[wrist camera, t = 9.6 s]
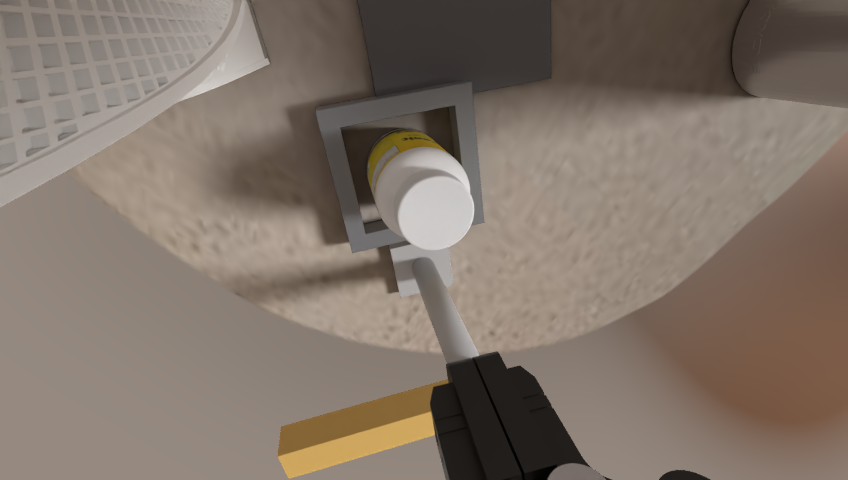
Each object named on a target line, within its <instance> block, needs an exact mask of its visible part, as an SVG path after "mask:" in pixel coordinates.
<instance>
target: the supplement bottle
mask: <svg viewBox="0 0 848 480" xmlns="http://www.w3.org/2000/svg"><path fill="white" fill-rule="evenodd" d="M366 170H367V178H368V181H369V184H370V187H371V191H372V194H373V197H374V200H375V203H376V206H377V209H378V212H379V214H380V216H381V218H382V220H383V222H384V223H385V224H386V225H387V227H388V228H389V229H390V230H392V231H393V232H394V233H396V234H397V235H399V236H401V237H403V238H405V239H406V240H407V241H408V242H409V243H411V244H412V245H414V246H415V247H418V248H420V249H424V250H440V249H444V248H447V247H450V246H452V245H454V244H455V243H457V242H458V241H459V240H460V239H461V238H462V237H463V236H464V235H465V234H466V233H467V231H468V230H469V228H470V226H471V224H472V221H473V217H474V202H473V199H472V196H471V194H470V184H469V180H468V177H467V174H466V172H465V171H464V169H463V167H462V166H461V165H460V164H459V162H458V161H457V160H456V159H455V158H454V157H453V156H452V155H450V154H449V153H448V152H447V151H445V150H444V149H443V148H442V147H441V146H440V145H438V144H437V143H436V142H435V141H434V140H433V139H431V138H430V137H429V136H427V135H426V134H424V133H422V132H420V131H418V130H414V129H397V130H393V131H390V132H388V133H386V134H385V135H383V136H382V137H381V138H380V139H379V140H377V142H376V143H375V144H374V145H373V147H372V149H371V151H370V153H369V155H368V158H367V164H366Z"/></svg>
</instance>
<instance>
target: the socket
mask: <svg viewBox="0 0 848 480" xmlns="http://www.w3.org/2000/svg"><path fill="white" fill-rule="evenodd" d="M443 107H449V115H450V124H451V132H452V140H453V149H454V157H455V159H456V160H457V161H458V162H459V164H460V165H461V166H462V167H463V169H464V171H465V172H466V174H467V177H468V180H469V184H470V194H471V196H472V199H473V202H474V217H473V221H472V224H471V225H476V224H480V223H484V214H483V203H482V192H481V181H480V170H479V159H478V148H477V137H476V127H475V116H474V105H473V94H472V83H471V82H470V81H466V80H463V81H458V82H452V83H447V84H442V85H436V86H431V87H426V88H420V89H415V90H410V91H404V92H399V93H394V94H388V95H383V96H378V97H376V96H373V97H368V98H362V99H357V100H352V101H346V102H341V103H336V104H330V105H325V106H320V107H316V109H315V113H316V116H317V120H318V124H319V128H320V132H321V135H322V139H323V143H324V147H325V151H326V155H327V158H328V162H329V166H330V170H331V174H332V177H333V181H334V185H335V189H336V193H337V196H338V200H339V204H340V208H341V212H342V216H343V219H344V223H345V227H346V231H347V235H348V238H349V242H350V246H351V250H352V253H355V252H359V251H364V250H368V249H372V248H377V247H381V246H385V245H389V248H390V253H391V258H392V262H393V267H394V272H395V276H396V281H397V286H398V290H399V294H400V298H401V297H405V296H409V295H413V294H417V293H421V296H422V299H423V301H424V304H425V307H426V309H427V312H428V314H429V317H430V320H431V322H432V325H433V328H434V330H435V333H436V336H437V338H438V341H439V344H440V346H441V349H442V352H443V354H444V357H445V359H446V362H447V363H451V362H455V361H459V360H464V359H468V358H472V357H476V356H479V354H478V352H477V350H476V348H475V346H474V344H473V342H472V339H471V337H470V335H469V333H468V331H467V329H466V327H465V325H464V323H463V321H462V319H461V317H460V315H459V313H458V311H457V309H456V307H455V305H454V303H453V301H452V299H451V297H450V295H449V293H448V291H447V289H446V287H445V286H449V285H453V284H454V283H453V276H452V269H451V261H450V254H449V247H447V248H444V249H440V250H424V249H420V248H418V247H415V246H414V245H412V244H411V243H409V242H408V241H407V240H406V239H405V238H403V237H401V236H399V235H397V234H396V233H394V232H393V231H392V230H390V229H389V228H388V227H387V225H386V224H385V223H384V222H383V220H380V221H376V222H371V223H367V224H363V220H362V216H361V212H360V208H359V204H358V199H357V195H356V191H355V187H354V183H353V179H352V174H351V170H350V166H349V162H348V158H347V154H346V149H345V145H344V141H343V137H342V133H341V128H340V127H345V126H351V125H356V124H361V123H366V122H371V121H376V120H381V119H387V118H392V117H397V116H402V115H407V114H412V113H417V112H423V111H428V110H433V109H438V108H443Z"/></svg>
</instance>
